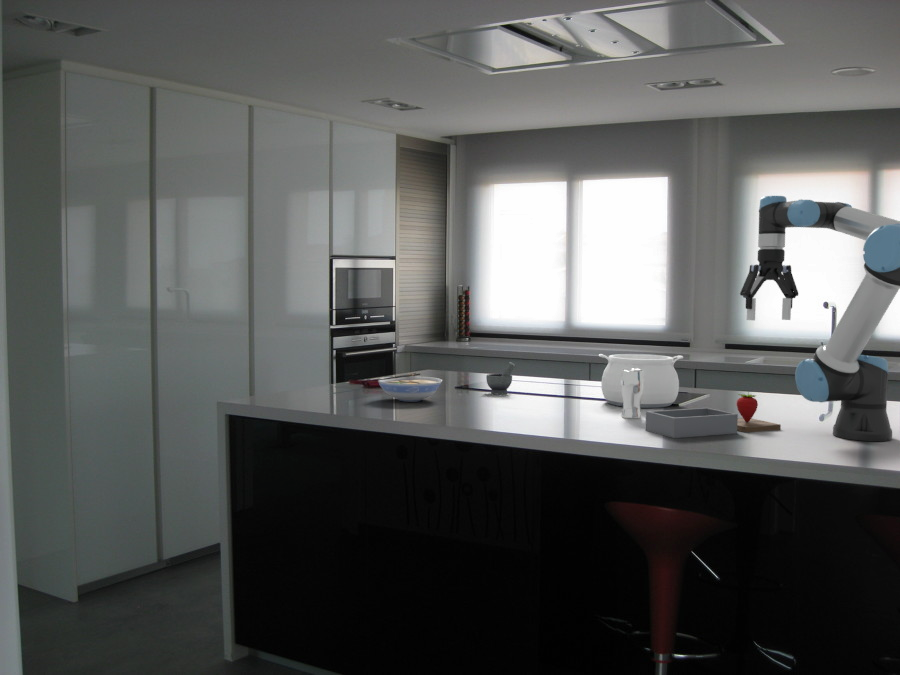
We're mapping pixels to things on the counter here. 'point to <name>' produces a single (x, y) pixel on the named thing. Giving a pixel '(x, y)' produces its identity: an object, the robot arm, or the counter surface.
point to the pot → (656, 375)
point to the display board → (756, 425)
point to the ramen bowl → (409, 386)
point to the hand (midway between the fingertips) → (768, 320)
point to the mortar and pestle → (500, 380)
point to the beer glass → (631, 392)
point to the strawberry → (747, 406)
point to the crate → (691, 422)
